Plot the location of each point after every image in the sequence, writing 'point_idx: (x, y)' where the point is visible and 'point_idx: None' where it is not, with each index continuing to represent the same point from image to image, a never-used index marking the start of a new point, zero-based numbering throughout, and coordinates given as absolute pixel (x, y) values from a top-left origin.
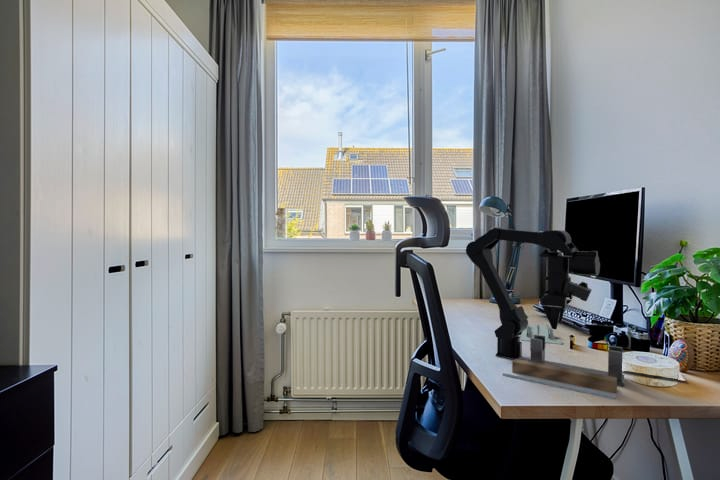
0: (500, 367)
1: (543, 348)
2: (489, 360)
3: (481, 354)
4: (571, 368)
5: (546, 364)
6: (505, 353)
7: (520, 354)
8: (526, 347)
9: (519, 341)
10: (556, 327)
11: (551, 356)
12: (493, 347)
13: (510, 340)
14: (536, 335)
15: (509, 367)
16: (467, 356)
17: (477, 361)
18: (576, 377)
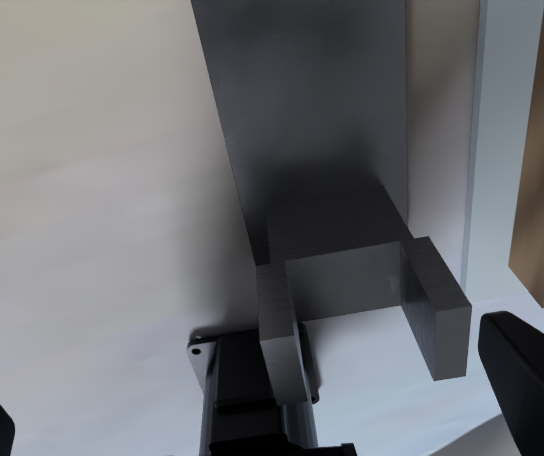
0: (476, 321)
1: (289, 267)
2: (399, 384)
3: (334, 432)
4: (286, 11)
5: (323, 177)
6: (308, 382)
7: (253, 337)
8: (17, 372)
9: (230, 412)
10: (530, 328)
11: (45, 227)
12: (182, 447)
13: (311, 441)
14: (301, 388)
15: (491, 292)
16: (405, 447)
17: (449, 404)
18: None
